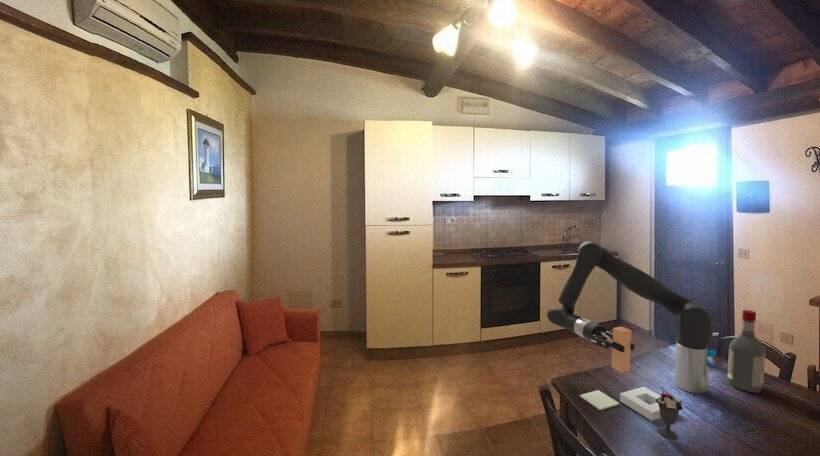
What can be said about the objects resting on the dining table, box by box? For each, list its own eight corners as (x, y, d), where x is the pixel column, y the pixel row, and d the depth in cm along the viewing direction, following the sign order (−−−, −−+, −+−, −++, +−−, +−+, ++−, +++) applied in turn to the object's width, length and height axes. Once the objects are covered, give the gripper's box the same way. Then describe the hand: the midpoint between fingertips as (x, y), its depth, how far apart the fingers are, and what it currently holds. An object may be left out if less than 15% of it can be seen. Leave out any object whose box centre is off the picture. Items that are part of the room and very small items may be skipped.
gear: (708, 355, 154) (719, 347, 147) (716, 368, 150) (728, 361, 143) (682, 357, 156) (692, 350, 148) (690, 371, 152) (700, 363, 144)
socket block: (643, 394, 129) (643, 386, 129) (677, 412, 118) (677, 404, 117) (619, 400, 125) (620, 393, 125) (651, 420, 114) (652, 412, 114)
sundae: (649, 427, 111) (651, 383, 109) (668, 425, 111) (670, 382, 110) (666, 441, 104) (668, 395, 103) (686, 440, 105) (688, 394, 103)
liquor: (764, 387, 131) (769, 312, 128) (758, 395, 126) (763, 317, 123) (732, 377, 138) (736, 306, 136) (725, 385, 133) (729, 311, 130)
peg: (619, 365, 126) (621, 326, 124) (629, 370, 122) (631, 330, 120) (611, 367, 124) (613, 328, 123) (621, 372, 120) (623, 332, 119)
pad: (598, 391, 132) (598, 390, 132) (619, 404, 123) (619, 403, 123) (580, 396, 129) (580, 394, 129) (600, 410, 120) (600, 408, 120)
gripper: (575, 323, 133) (613, 341, 117) (603, 318, 137) (644, 335, 121) (574, 341, 134) (613, 362, 118) (602, 336, 138) (643, 355, 122)
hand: (628, 348), depth 119 cm, fingers closed on peg, 4 cm apart
